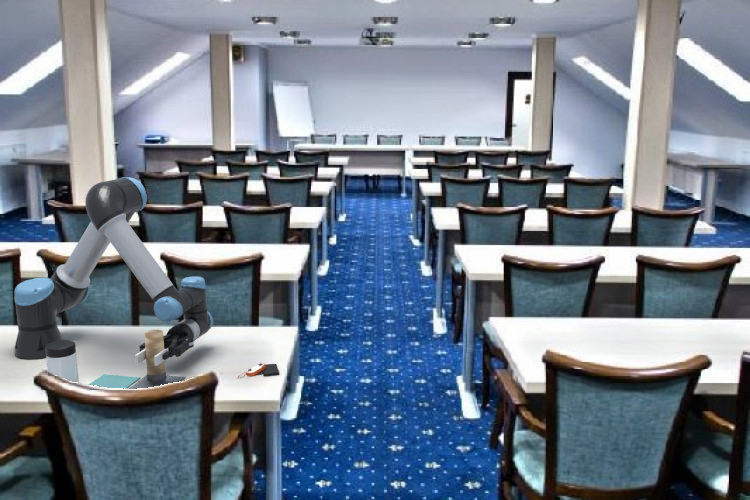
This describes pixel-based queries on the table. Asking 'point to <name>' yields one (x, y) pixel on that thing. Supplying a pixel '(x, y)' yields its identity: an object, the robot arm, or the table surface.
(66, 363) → the jar
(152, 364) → the banded sleeve
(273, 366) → the multimeter
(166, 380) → the slate seat
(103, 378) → the teal seat
